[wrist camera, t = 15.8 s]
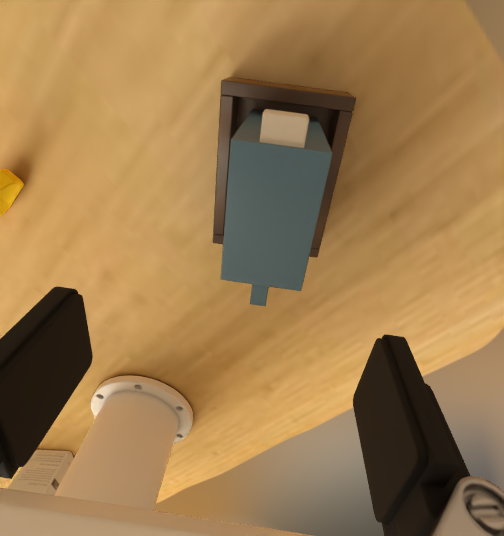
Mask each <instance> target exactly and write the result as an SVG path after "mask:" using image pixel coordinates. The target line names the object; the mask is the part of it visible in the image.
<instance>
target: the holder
mask: <svg viewBox="0 0 504 536" xmlns="http://www.w3.org/2000/svg"><path fill="white" fill-rule="evenodd" d="M355 101H356V97H354V96H353V95H351V94H350V93H348V92H340V91H332V90H325V89H317V88H309V87H302V86H294V85H286V84H279V83H271V82H264V81H256V80H248V79H241V78H233V77H229V78H226V79H224V80H222V81H221V100H220V118H219V137H218V155H217V173H216V191H215V210H214V228H213V233H214V234H213V243H218V244H223V240H224V227H225V213H226V199H227V186H228V172H229V158H230V145H231V139H232V138H233V136H234V135H235V133H236V132H237V130H238V129H239V128H240V126H241V125H242V123H243V122H244V120H245V119H246V118H247V116H248V115H249V113H250V112H251V110H252V109H257V110H265V109H270V110H277V111H285V112H293V113H300V114H307V115H308V116H310V117H317V118H318V120H319V123H320V125H321V127H322V130H323V132H324V135H325V137H326V139H327V142H328V144H329V146H330V149H331V151H332V158H331V162H330V167H329V171H328V176H327V180H326V184H325V189H324V193H323V198H322V202H321V206H320V211H319V215H318V219H317V224H316V228H315V233H314V237H313V241H312V246H311V250H310V255H309V256H310V257H318V253H319V248H320V245H321V241H322V237H323V233H324V229H325V224H326V220H327V216H328V212H329V208H330V204H331V200H332V196H333V191H334V187H335V183H336V179H337V175H338V171H339V167H340V163H341V159H342V154H343V150H344V146H345V142H346V138H347V134H348V130H349V126H350V122H351V117H352V112H353V109H354V105H355Z"/></svg>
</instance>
